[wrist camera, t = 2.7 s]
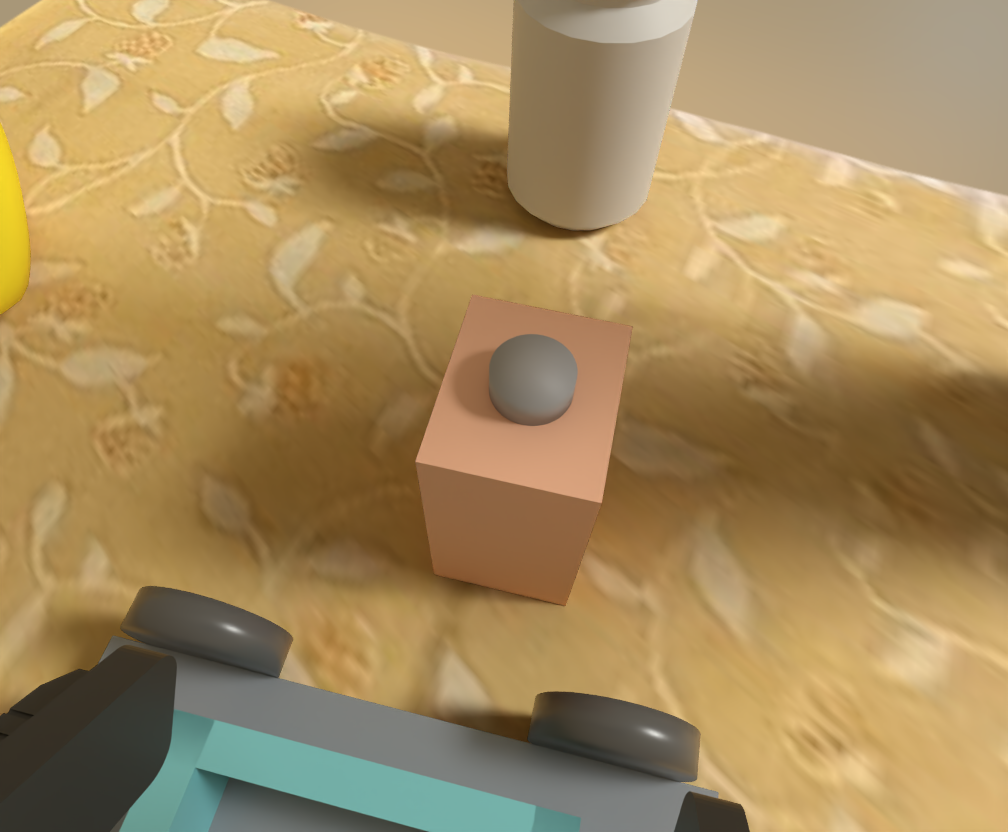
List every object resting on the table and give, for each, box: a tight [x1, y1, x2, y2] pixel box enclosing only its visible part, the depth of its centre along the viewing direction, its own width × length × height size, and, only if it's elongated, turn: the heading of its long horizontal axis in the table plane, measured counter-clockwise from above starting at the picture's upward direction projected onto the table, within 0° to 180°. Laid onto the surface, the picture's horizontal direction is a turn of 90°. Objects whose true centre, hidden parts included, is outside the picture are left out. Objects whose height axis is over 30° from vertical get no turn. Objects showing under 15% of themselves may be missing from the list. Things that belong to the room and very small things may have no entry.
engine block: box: [415, 295, 633, 606], centre depth 23 cm, size 6×5×10 cm
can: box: [507, 0, 698, 230], centre depth 32 cm, size 8×8×12 cm
